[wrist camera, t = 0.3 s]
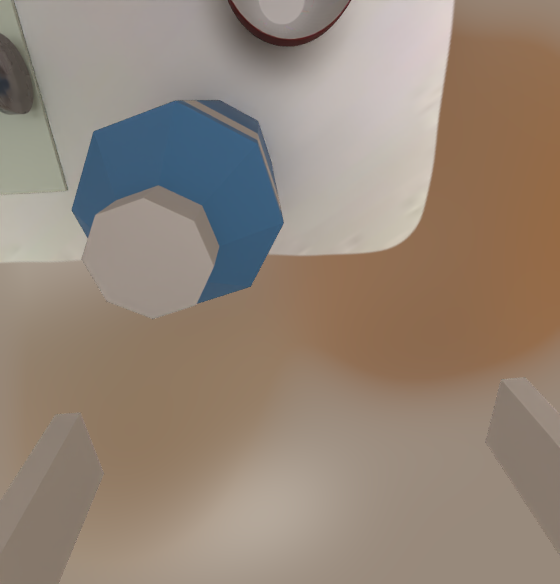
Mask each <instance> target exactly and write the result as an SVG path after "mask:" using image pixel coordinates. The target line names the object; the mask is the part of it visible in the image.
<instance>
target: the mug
mask: <svg viewBox="0 0 560 584" xmlns="http://www.w3.org/2000/svg"><path fill="white" fill-rule="evenodd" d="M350 1H351V0H228V2H229V4H230V6H231V8H232V10H233V12H234V13H235V15H236V17H237V18H238V19H239V21H240V22H241V23H242V24H243V25H244V27H245V28H246V29H247V30H249V31H250V32H251V33H252V34H253V35H255V36H256V37H258V38H259V39H261V40H263V41H265V42H267V43H270V44H273V45H277V46H286V47H287V46H298V45H302V44H305V43H308V42H310V41H312V40H314V39H316V38H318V37H319V36H321V35H322V34H324V33H325V32H326V31H327V30H328V29H329V28H330V27H331V26H332V25H333V24H334V23H335V22H336V21H337V20H338V19H339V17H340V16H341V15H342V13H343V12H344V11H345V9H346V8H347V6H348V5H349V3H350Z"/></svg>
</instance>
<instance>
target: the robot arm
mask: <svg viewBox="0 0 560 584" xmlns="http://www.w3.org/2000/svg"><path fill="white" fill-rule="evenodd" d="M486 444H487V446H488V447H489V449H490V450H491V452H492V453H493V454H494V456H495V458H496V459H497V461H498V462H499V464H500V465H501V467H502V469H503V470H504V471H505V473H506V475H507V476H508V478H509V479H510V481H511V482H512V484H513V485H514V487H515V488H516V490H517V491H518V493H519V494H520V496H521V497H522V499H523V501H524V502H525V504H526V505H527V507H528V508H529V509H530V511H531V513H532V514H533V516H534V517H535V519H536V520H537V522H538V523H539V525H540V526H541V528H542V529H543V531H544V532H545V534H546V535H547V537H548V539H549V540H550V542H551V543H552V544H553V546H554V548H555V549H556V551H557V552H558V554H559V555H560V414H559V413H558V412H557V411H556V409H555V408H554V407H553V406H552V405H551V404H550V403H549V402H548V401H547V400H546V399H545V398H544V397H543V396H542V395H541V394H540V393H539V392H538V391H537V389H536V388H535V387H534V386H533V385H532V384H531V383H530V382H529V381H528V380H527V379H526V378H512V379H501V382H500V386H499V390H498V394H497V398H496V402H495V406H494V410H493V414H492V418H491V422H490V426H489V430H488V434H487V438H486ZM103 474H104V472H103V470H102V467H101V465H100V462H99V459H98V457H97V454H96V452H95V449H94V446H93V444H92V441H91V439H90V436H89V433H88V431H87V428H86V426H85V423H84V420H83V418H82V415H81V413H69V414H56V415H55V416H54V418H53V419H52V421H51V422H50V424H49V425H48V427H47V429H46V430H45V432H44V433H43V435H42V436H41V438H40V440H39V441H38V443H37V444H36V446H35V447H34V449H33V450H32V452H31V454H30V455H29V457H28V458H27V460H26V461H25V463H24V465H23V466H22V468H21V469H20V471H19V472H18V474H17V475H16V477H15V479H14V480H13V482H12V483H11V485H10V486H9V488H8V489H7V491H6V493H5V494H4V496H3V497H2V499H1V500H0V584H59V582H60V579H61V577H62V574H63V572H64V569H65V567H66V565H67V562H68V560H69V557H70V555H71V552H72V550H73V547H74V545H75V543H76V540H77V538H78V535H79V533H80V531H81V528H82V525H83V523H84V521H85V518H86V516H87V513H88V511H89V509H90V506H91V503H92V501H93V499H94V496H95V494H96V491H97V489H98V487H99V484H100V482H101V479H102V477H103Z"/></svg>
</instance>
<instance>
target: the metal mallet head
mask: <svg viewBox="0 0 560 584" xmlns="http://www.w3.org/2000/svg"><path fill="white" fill-rule="evenodd" d="M32 105H33V86H32V81H31V78H30V74H29V71H28V69H27V66H26V64H25V62H24V60H23V58H22V56H21V54H20V53H19V51H18V49H17V48H16V47H15V45H14V44H13V43H12V42H11V41H10V40H9V39H8V38H7V37H6V36H5V35H3V34H1V33H0V112H2V113H4V114H7V115H16V114H26V113H28V112H29V111H30V110H31V108H32Z"/></svg>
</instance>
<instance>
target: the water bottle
mask: <svg viewBox="0 0 560 584" xmlns="http://www.w3.org/2000/svg"><path fill="white" fill-rule="evenodd" d="M72 212H73V214H74V215H75V217H76V219H77V220H78V222H79V224H80V226H81V227H82V229H83V231H84V232H85V234H86V236H87V238H88V240H87V243H86V246H85V250H84V253H83V256H82V259H81V260H82V261H83V263H84V264H85V266H86V268H87V270H88V271H89V273H90V275H91V276H92V278H93V279H94V281H95V283H96V284H97V286H98V288H99V289H100V291H101V293H102V294H103V296H104V298H105V299H106V301H107V302H109V303H112V304H115V305H117V306H120V307H123V308H125V309H128V310H131V311H133V312H136V313H138V314H141V315H144V316H146V317H149V318H152V319H155V318H158V317H161V316H164V315H167V314H170V313H173V312H177V311H180V310H183V309H186V308H189V307H192V306H195V305H196V304H198V303H201V302H204V301H207V300H211V299H213V298H217V297H220V296H223V295H226V294H229V293H232V292H236V291H239V290H242V289H245V288H248V287H251V285H252V282H253V281H254V279H255V277H256V275H257V273H258V272H259V269H260V268H261V266H262V264H263V262H264V260H265V258H266V256H267V254H268V252H269V250H270V248H271V246H272V245H273V243H274V241H275V239H276V237H277V235H278V233H279V231H280V229H281V227H282V225H283V223H284V222H283V217H282V212H281V207H280V202H279V197H278V192H277V188H276V183H275V178H274V173H273V168H272V163H271V160H270V157H269V153H268V150H267V147H266V144H265V141H264V138H263V135H262V132H261V129H260V126H259V123H258V121H257V120H255V119H253V118H251V117H250V116H248V115H246V114H244V113H242V112H240V111H239V110H237V109H235V108H233V107H231V106H229V105H227V104H226V103H224V102H222V101H220V100H191V101H173V102H170V103H168V104H165V105H162V106H160V107H157V108H155V109H152V110H149V111H147V112H144V113H141V114H139V115H136V116H133V117H131V118H128V119H125V120H123V121H120V122H117V123H115V124H112V125H109V126H107V127H104V128H101V129H99V130H96V131H94V132H93V135H92V139H91V143H90V146H89V150H88V153H87V157H86V160H85V164H84V168H83V171H82V175H81V178H80V182H79V185H78V189H77V193H76V196H75V200H74V203H73V207H72Z"/></svg>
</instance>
